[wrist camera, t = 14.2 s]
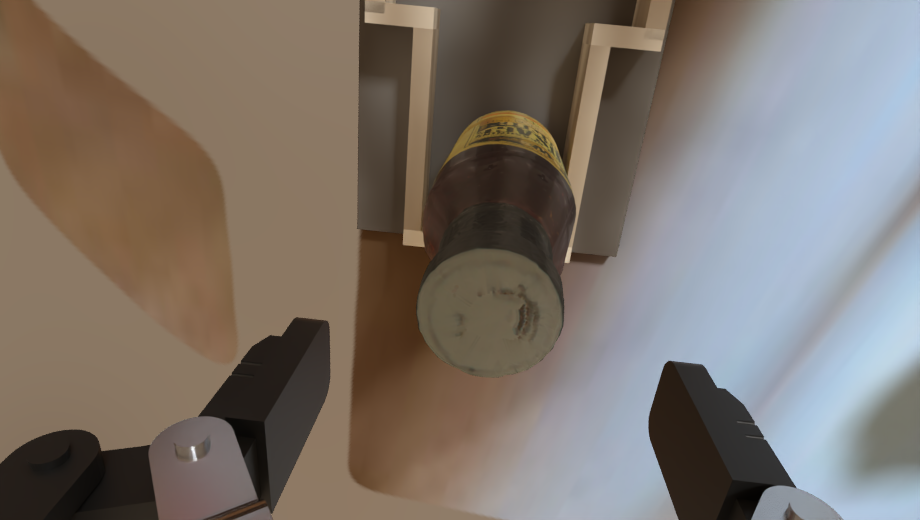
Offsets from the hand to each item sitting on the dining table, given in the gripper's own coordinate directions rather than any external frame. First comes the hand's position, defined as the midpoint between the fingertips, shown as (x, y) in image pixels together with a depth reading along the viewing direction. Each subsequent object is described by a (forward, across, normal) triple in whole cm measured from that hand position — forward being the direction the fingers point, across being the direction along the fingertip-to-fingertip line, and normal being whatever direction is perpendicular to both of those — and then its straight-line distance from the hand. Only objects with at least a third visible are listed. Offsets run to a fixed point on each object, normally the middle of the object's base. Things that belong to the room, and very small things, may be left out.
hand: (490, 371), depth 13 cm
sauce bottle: (+22, 0, 0) cm, 22 cm away
